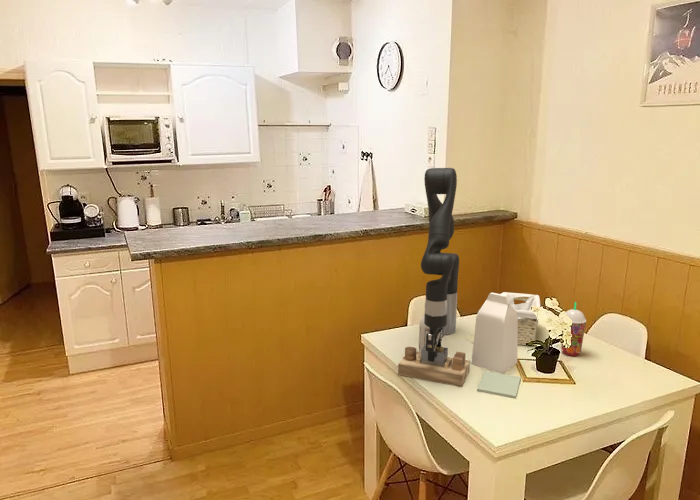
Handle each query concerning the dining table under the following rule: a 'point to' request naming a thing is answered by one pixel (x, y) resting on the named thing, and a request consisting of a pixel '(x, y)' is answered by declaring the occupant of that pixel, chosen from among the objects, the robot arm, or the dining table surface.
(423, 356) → the lever cap
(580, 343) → the smoothie
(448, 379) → the wooden peg board
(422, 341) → the bath foam
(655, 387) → the dining table surface
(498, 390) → the mat
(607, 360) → the dining table surface
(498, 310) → the milk
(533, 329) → the storage basket
